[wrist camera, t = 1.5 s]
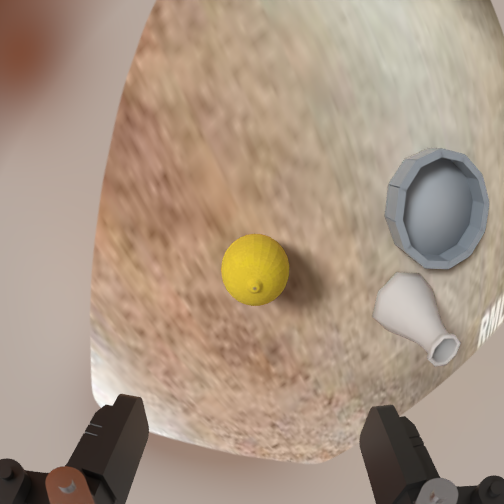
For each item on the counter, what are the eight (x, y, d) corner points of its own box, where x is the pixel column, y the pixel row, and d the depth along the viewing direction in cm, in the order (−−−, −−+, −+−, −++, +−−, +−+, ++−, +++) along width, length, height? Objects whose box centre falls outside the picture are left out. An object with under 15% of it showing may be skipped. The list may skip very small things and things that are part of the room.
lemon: (218, 268, 30) (204, 306, 22) (239, 215, 28) (232, 237, 21) (271, 289, 30) (274, 332, 23) (294, 238, 29) (307, 268, 21)
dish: (391, 140, 26) (402, 139, 23) (479, 161, 26) (493, 162, 23) (378, 258, 29) (387, 266, 27) (464, 262, 29) (476, 270, 27)
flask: (408, 336, 32) (446, 389, 22) (360, 319, 31) (392, 377, 22) (440, 283, 30) (490, 325, 20) (393, 260, 29) (441, 302, 20)
